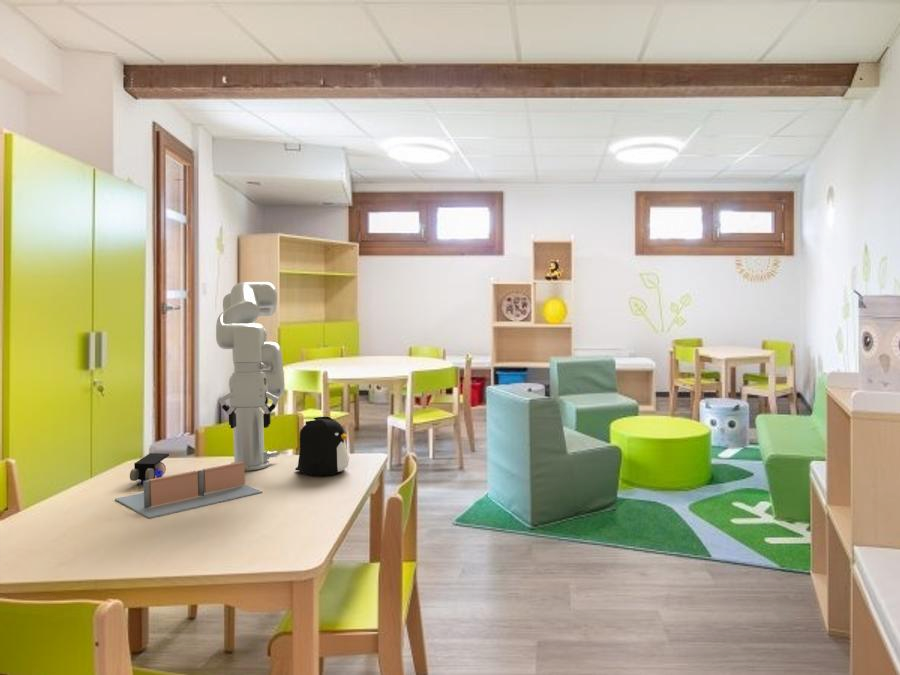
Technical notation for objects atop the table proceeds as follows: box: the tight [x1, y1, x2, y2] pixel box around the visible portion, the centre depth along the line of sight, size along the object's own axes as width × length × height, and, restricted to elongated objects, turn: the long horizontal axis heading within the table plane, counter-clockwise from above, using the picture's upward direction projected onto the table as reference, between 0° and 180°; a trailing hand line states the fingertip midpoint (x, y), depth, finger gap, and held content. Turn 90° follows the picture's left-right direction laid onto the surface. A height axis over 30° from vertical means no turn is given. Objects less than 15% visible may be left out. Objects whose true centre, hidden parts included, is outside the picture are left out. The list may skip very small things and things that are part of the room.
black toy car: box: [129, 452, 170, 487], centre depth 217 cm, size 7×8×15 cm
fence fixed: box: [142, 469, 204, 508], centre depth 194 cm, size 16×2×8 cm, turn 134°
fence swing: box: [202, 462, 246, 493], centre depth 204 cm, size 12×2×7 cm, turn 134°
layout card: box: [114, 484, 263, 519], centre depth 200 cm, size 32×24×1 cm
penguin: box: [295, 416, 350, 477], centre depth 225 cm, size 18×18×17 cm
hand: (249, 427), depth 205 cm, fingers open, 9 cm apart
